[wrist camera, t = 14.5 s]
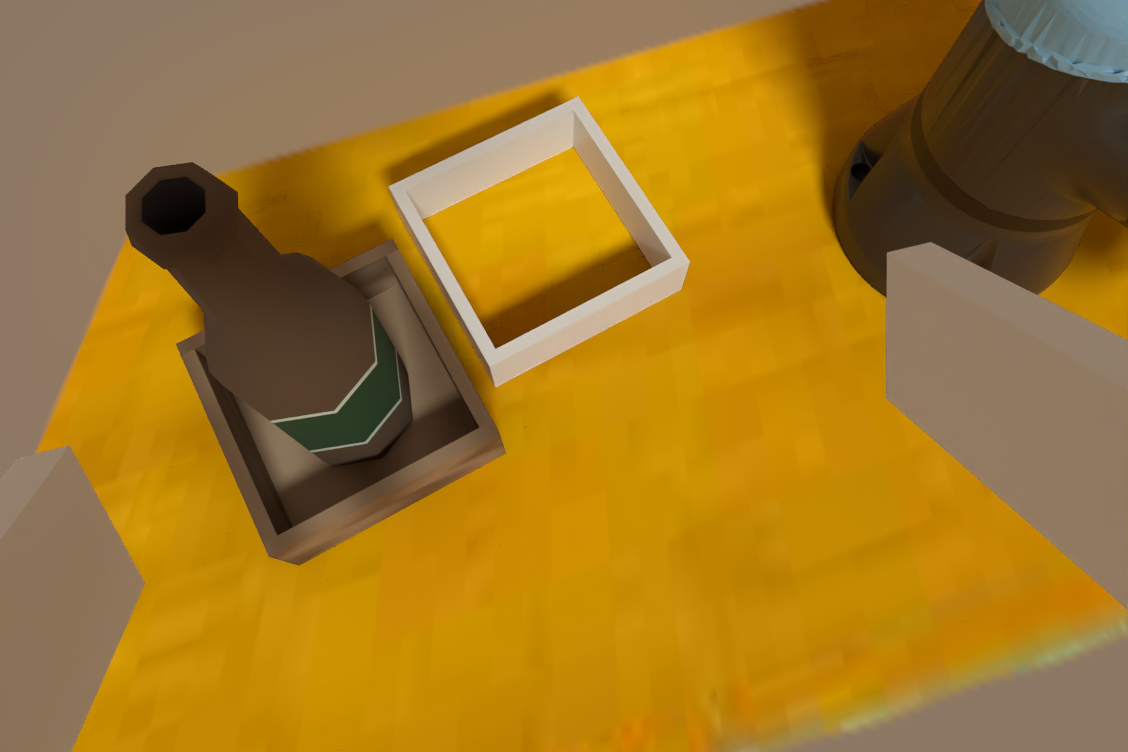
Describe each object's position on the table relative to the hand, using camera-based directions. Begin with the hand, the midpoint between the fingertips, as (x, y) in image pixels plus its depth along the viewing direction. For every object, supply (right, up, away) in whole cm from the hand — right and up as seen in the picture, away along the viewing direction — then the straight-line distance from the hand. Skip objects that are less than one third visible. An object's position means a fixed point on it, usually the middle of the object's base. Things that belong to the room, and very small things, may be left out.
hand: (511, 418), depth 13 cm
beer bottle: (-12, -1, +36) cm, 38 cm away
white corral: (-1, +9, +40) cm, 41 cm away
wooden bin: (-12, -2, +37) cm, 39 cm away
